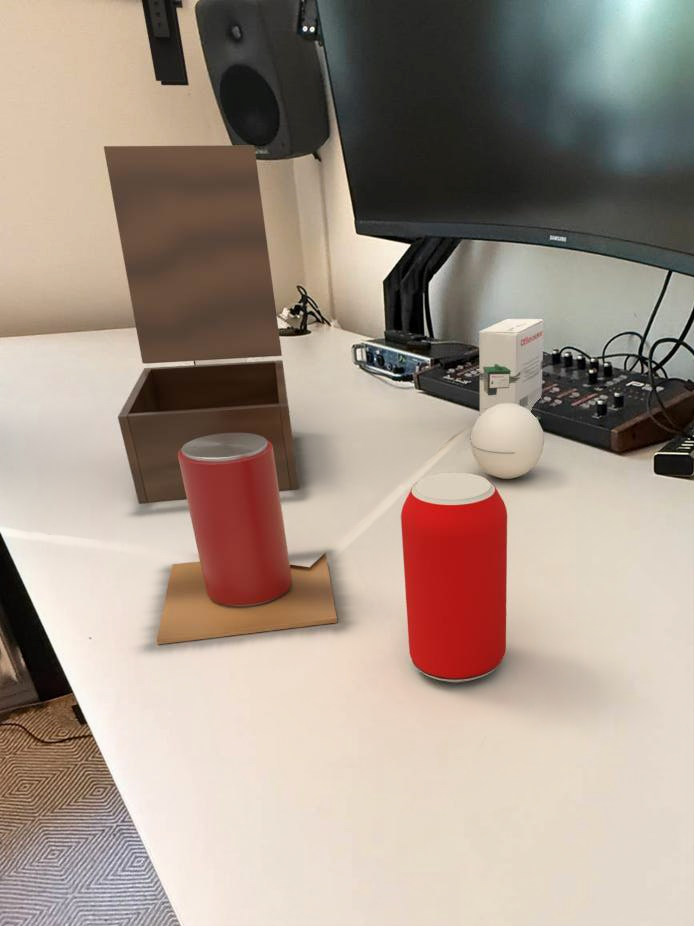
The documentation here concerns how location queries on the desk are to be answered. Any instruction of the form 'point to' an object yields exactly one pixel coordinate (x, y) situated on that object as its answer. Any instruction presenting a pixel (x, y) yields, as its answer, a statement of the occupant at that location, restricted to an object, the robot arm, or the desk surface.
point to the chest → (203, 420)
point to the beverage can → (455, 576)
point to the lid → (194, 251)
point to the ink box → (511, 363)
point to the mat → (206, 618)
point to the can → (236, 517)
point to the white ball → (507, 440)
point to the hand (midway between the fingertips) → (172, 82)
